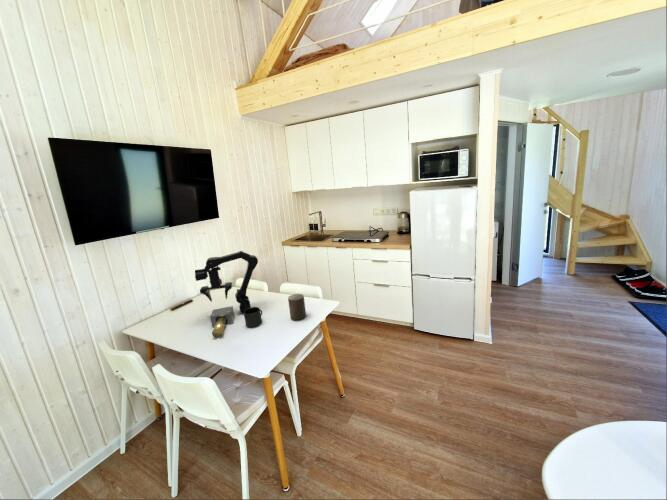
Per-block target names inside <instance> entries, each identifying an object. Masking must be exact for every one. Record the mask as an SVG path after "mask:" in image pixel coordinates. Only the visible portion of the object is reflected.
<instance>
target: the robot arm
mask: <svg viewBox="0 0 667 500" xmlns="http://www.w3.org/2000/svg"><path fill="white" fill-rule="evenodd" d="M238 259H241V260H244V261H245V262H247V267H246V271H245V273H244V276H243V280H242V283H241V285H240V288H239V289H238V288H237V289H236V292H235V295H234V296H235V299H236V302H237V303H238V304H239V306H238V307H239V312H240V314H241V315H244V311H245V310H246V309H248V308H252V306H251V301H250V299H249V296H247V290H248V286H249V284H250V280H251V279H252V278H251V277H252V274H253V272H254V270H255V269H256V267H257V265H258V263H259V259H258V257H257V256H256V255H254V254H252V255H251V254H249V253H247V252H244V251H243V250H239V251H237V252H233V253H229V254H226V255H221V256H212V257H208V258H207V259H206V262H205V266H204V268H201V269H200V268H199V269H195V270H194V278H195V281H196V282H198V281H203V280H207V278H208V277H209V284H210V286H208V285H206V286H202V287H200V290H199V293H200V294H202V295H203V296H204V295H205V297H207V299H209V301H210V302H213V299H212V296H211V295H212V294H211V291H213V290H221V289H224V295H225V299H226V300H227V299H228V293H229V291H230V290H231V289H232V288H233V282H225V283H224V284H223V279H222V278H221V277H220V275H219V271H221V267H220V265H222V264H224V263H228V262H232V261H235V260H238Z"/></svg>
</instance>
